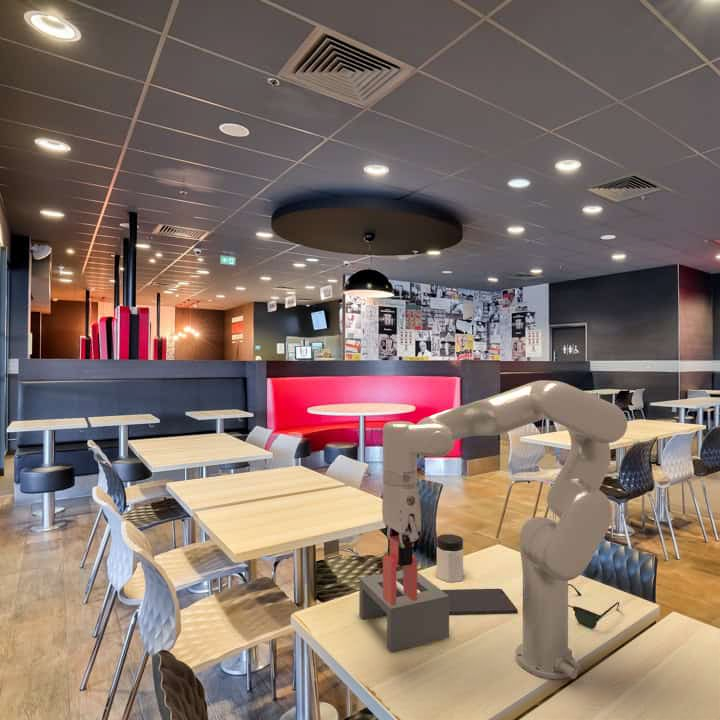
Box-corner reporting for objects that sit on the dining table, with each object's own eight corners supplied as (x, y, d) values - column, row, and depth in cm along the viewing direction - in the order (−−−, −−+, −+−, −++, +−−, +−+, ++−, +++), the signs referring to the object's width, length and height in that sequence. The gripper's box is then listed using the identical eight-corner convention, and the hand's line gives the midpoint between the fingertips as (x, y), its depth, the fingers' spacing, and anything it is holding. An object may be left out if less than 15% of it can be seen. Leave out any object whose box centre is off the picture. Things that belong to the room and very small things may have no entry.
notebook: (439, 617, 129) (517, 615, 131) (439, 611, 129) (517, 609, 131) (429, 595, 142) (501, 593, 143) (429, 589, 142) (501, 588, 143)
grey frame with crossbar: (449, 637, 119) (449, 595, 119) (390, 652, 113) (390, 608, 113) (412, 604, 135) (412, 568, 136) (359, 616, 129) (359, 577, 129)
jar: (457, 570, 159) (457, 532, 159) (468, 580, 151) (468, 541, 151) (431, 572, 156) (431, 535, 157) (442, 583, 149) (442, 544, 149)
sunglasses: (630, 614, 131) (629, 595, 131) (599, 636, 120) (599, 615, 120) (571, 592, 144) (570, 575, 144) (539, 610, 133) (539, 591, 133)
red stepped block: (417, 599, 107) (417, 539, 107) (391, 605, 105) (391, 543, 105) (407, 592, 111) (407, 533, 111) (382, 597, 108) (382, 537, 108)
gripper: (435, 484, 102) (435, 572, 102) (396, 469, 117) (396, 545, 117) (403, 487, 99) (404, 578, 99) (368, 471, 114) (368, 550, 114)
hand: (400, 559), depth 108 cm, fingers closed on red stepped block, 4 cm apart
